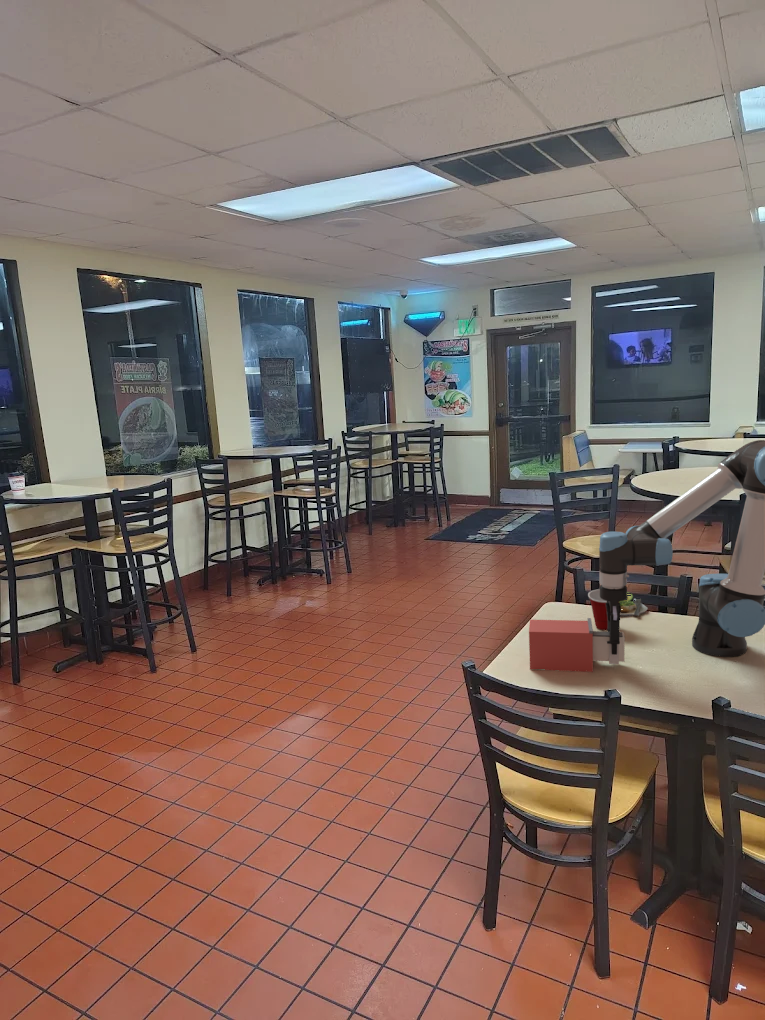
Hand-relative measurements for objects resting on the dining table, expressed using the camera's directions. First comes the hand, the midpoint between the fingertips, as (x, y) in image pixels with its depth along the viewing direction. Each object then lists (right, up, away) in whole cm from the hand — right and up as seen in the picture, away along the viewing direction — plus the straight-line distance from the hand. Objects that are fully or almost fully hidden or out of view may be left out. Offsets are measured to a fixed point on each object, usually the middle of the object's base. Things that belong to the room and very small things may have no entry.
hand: (613, 660), depth 200 cm
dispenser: (-14, -2, +4) cm, 15 cm away
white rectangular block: (-6, 0, +1) cm, 6 cm away
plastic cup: (+7, +4, +29) cm, 30 cm away
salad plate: (+19, +8, +46) cm, 51 cm away
